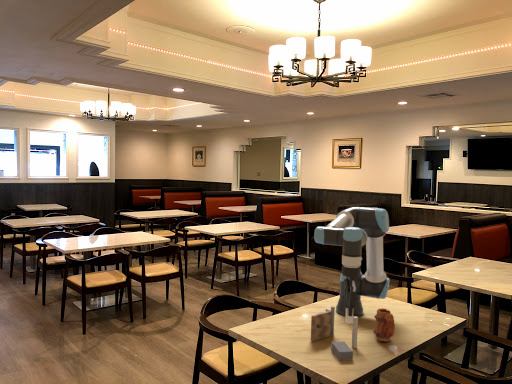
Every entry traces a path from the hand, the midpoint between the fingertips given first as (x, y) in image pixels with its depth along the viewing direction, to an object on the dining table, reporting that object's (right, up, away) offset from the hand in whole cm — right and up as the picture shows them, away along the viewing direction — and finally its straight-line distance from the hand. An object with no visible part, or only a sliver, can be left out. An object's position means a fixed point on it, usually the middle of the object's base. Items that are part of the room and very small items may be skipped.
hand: (349, 322), depth 169 cm
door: (-7, -16, +28) cm, 33 cm away
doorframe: (+2, -17, +28) cm, 33 cm away
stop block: (-1, -18, +12) cm, 22 cm away
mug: (+23, -18, +26) cm, 39 cm away
